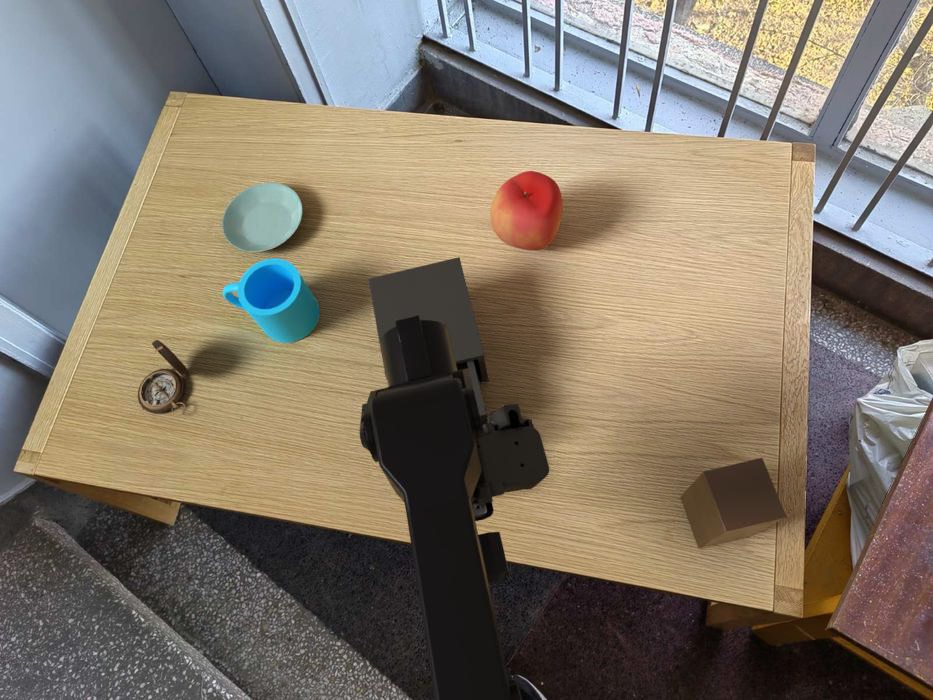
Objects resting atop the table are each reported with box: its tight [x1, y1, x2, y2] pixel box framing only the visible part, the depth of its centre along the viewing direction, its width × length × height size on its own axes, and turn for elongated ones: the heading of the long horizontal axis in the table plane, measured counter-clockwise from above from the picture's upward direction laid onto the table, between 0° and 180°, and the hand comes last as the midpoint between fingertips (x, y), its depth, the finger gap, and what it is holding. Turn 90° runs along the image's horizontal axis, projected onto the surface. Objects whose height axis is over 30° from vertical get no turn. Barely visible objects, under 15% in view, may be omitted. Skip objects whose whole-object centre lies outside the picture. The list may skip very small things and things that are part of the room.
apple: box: [489, 170, 564, 251], centre depth 90 cm, size 10×10×10 cm
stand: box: [680, 457, 787, 549], centre depth 72 cm, size 6×6×12 cm
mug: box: [222, 258, 321, 344], centre depth 89 cm, size 12×8×8 cm
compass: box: [137, 339, 191, 417], centre depth 86 cm, size 8×8×7 cm
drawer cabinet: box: [367, 256, 489, 385], centre depth 85 cm, size 14×12×9 cm
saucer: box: [221, 182, 303, 253], centre depth 98 cm, size 12×12×2 cm
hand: (462, 499), depth 69 cm, fingers closed
